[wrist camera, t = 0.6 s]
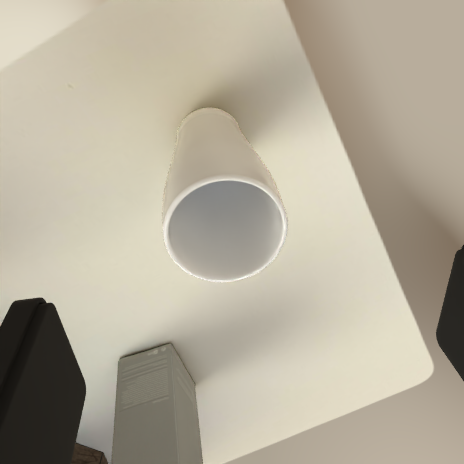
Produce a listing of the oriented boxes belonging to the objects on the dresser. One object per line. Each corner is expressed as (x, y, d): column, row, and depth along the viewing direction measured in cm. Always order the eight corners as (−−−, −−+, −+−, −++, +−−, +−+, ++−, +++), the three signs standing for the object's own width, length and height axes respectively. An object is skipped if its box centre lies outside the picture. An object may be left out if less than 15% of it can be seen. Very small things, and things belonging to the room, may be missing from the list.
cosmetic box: (117, 356, 47) (93, 511, 33) (178, 338, 46) (179, 488, 33) (147, 401, 51) (136, 553, 38) (203, 385, 51) (212, 533, 37)
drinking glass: (214, 190, 37) (233, 303, 25) (150, 144, 35) (134, 245, 22) (266, 131, 35) (316, 222, 22) (202, 77, 32) (217, 146, 20)
